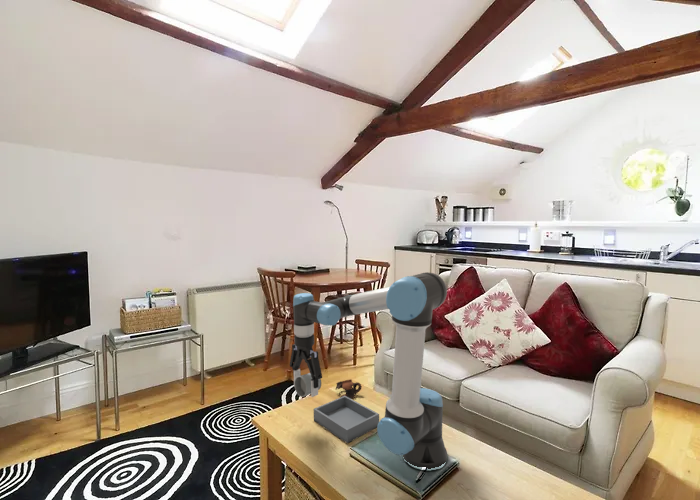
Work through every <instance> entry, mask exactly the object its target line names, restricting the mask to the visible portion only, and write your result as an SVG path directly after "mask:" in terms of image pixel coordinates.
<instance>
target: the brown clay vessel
mask: <svg viewBox="0 0 700 500" xmlns="http://www.w3.org/2000/svg"><path fill="white" fill-rule="evenodd" d="M357 386H358V388H357ZM340 389H342V390H344V392H345V393H344V394H342V395H341V397H343V396H347V397H348V398H350V399H352V400H353V399H355V396H357V394H358V393H359V392H360V391H362V384H361V383H360V382H353V379H346V380H345V379H344V380H342V381H338V382H336V388H335V390H340Z"/></svg>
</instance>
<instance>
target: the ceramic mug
mask: <svg viewBox="0 0 700 500" xmlns="http://www.w3.org/2000/svg"><path fill="white" fill-rule="evenodd" d="M314 376H315V375H314ZM311 379H312V377H311V374H310V372H308V373H305V374H301V376H298V377H296V379H295V382H294V381H293V387H294V386H295V387H294V390H295V393H296V394H297V395H298V396H299V397H301V398H305V397H307V396H309V395H311ZM318 385H319V386H318V391H319V390H320V389H321V387H322V378H321V379H318Z"/></svg>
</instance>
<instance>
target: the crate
mask: <svg viewBox="0 0 700 500" xmlns="http://www.w3.org/2000/svg"><path fill="white" fill-rule="evenodd" d="M313 422H315V423H317V424H318V425H319V426H321V427H322V428H324V429H325V430H327V431H328V432H330V433H332V434H333V435H334V436H336V437H337V438H338V439H340V440H342V442H344V443H346V444H348V443H350V442H352V441H354V440H356V439H358V438H360V437H362V436H364V435H366V434H367V433H369V432H371V431H373V430H375V429H377V426H378V423H379V422H380V413H378V412H376V411H375V410H374V409H373V410H372V409H370V408H369V407H367V406H365V405H363V404H362V403H360V402H357V401H355V400H353V398H352V399H350V398H348V397H347V396H343V397H342V396H341V397H338V398H336V399H334V400H332V401H329V402H326V403H324V404H321V405H319V406H317V407H315V408H313Z"/></svg>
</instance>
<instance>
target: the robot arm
mask: <svg viewBox="0 0 700 500" xmlns="http://www.w3.org/2000/svg"><path fill="white" fill-rule="evenodd" d="M447 295H448V288H447V285H446V282H445V281H444V279H443V278H442V277H441V276H439V274H436V273H433V272H421V273H417V274H413V275H407V276H404V277H401V278H399V279H397V280H396V281H394V282H393V283H392V284H391V285H390V286H386V287H382V288H378V289H372V290H367V291H364V292H360V293H356V294H348V295H345V296H343V297H338V298H335V299H331V300H326V301H323V302H322V301H316V300H315V298H314V295H313V294H312V293H308V292H304V293H303V292H302V293H297V294H294V295H293V301H292V302H293V303H292V308H293V333H294V336H293V337H294V338H293V339H294V341H293V342H294V344H292V345H291V349H292V350H291V355H290V360H289V367H290V368H291V369H292V370H293V372H292V373H293V374H292V375H293V383H294V382H295V379H296V377H298V376H301V375H302V374H301V364H302V361H303V360H304V362H305V363H306V364H307V368H308V370H309V373H310V374H311V377H312V379H311V394H310V395H311V396H310V397H312V398H313V397H316V396H318V395H319V390H318V386H319V385H318V379H321V380H322V378H323V374H322V370H321V369H322V368H321V364H320V360H319V352H318V351H316V350H315V351H314V350H313V346H314V345H315V335H314V334H315V325H314V324H315V323H317V324H321V325H324V326H331V327H332V326H335V325H336V324H337V323H338V322H339V321H340V319H342V318H346V317H351V316H356V315H360V314H361V315H362V314H368V313H373V312H380V311H383V310H389V313H390V315H391V320H392V322H393V324H394V325H395V326H396V327H395V328H396V329H395V330H396V331H395V342H394V343H395V344H394V356H393V357H394V359H393V367H392V368H393V372H392V385H391V396H390V398H388V399H387V401H386V403H385V412H384V417H383V418H381V419H379V423H378V426H377V428H376V430H377V432H376V433H377V436H378V438H379V440H380V441H381V443H382V444H383V446H384V447H385V448H386V449H387V450H388V451H390V452H391V453H392V454H395V455H397V456H402V455H403V457H404V459H405V460H406V461H407V462H409V463H410V464H412V465H414V466H417V467H426V468H428V469H431V468H435V467H439V466H441V465H442V464H444V463H445V462H446V460H447V461H448V451H447V448H446V447H445V442H444V439H443V417H444V416H443V412H444V411H443V410H444V409H443V408H444V404H443V397H442V395H441V394H440V393H439V392H438V391H436V390H433V389H429V388H425V387H424V388H423V387H421V386H422V377H423V364H424V353H425V340H426V332H427V331H426V330H427V328H428V327H431V325H432V320H433V310H435V309H438V308H439V307H441V305H442V304H444V302H445V301H446V298H447ZM314 375H315V376H314ZM293 387H294V388H295V386H294V385H293Z"/></svg>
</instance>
